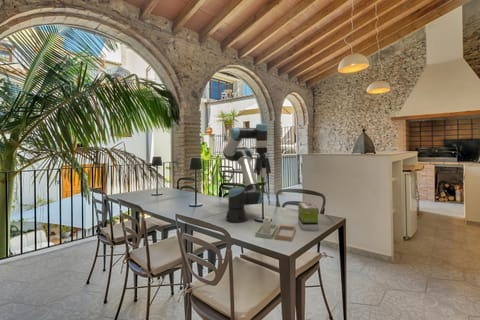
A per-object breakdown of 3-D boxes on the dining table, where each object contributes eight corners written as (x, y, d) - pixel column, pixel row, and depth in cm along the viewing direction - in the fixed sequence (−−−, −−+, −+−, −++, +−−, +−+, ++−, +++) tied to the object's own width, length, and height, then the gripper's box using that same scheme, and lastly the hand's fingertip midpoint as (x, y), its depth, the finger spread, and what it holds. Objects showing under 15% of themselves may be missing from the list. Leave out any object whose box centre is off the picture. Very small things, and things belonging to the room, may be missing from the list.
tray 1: (255, 236, 146) (255, 232, 146) (262, 226, 163) (262, 223, 163) (271, 238, 143) (271, 234, 142) (277, 228, 160) (277, 224, 159)
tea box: (297, 222, 171) (297, 202, 171) (312, 222, 171) (312, 202, 170) (302, 230, 156) (302, 207, 156) (318, 230, 156) (318, 207, 155)
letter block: (262, 233, 152) (262, 220, 151) (264, 231, 155) (264, 218, 155) (269, 233, 150) (269, 220, 150) (270, 231, 154) (270, 218, 154)
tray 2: (274, 239, 142) (274, 234, 142) (279, 228, 159) (279, 225, 159) (291, 241, 139) (291, 236, 139) (295, 230, 156) (295, 226, 155)
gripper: (262, 147, 151) (262, 181, 152) (271, 146, 174) (270, 176, 176) (250, 147, 153) (250, 181, 155) (260, 146, 177) (260, 176, 178)
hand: (261, 178), depth 165 cm, fingers open, 13 cm apart
